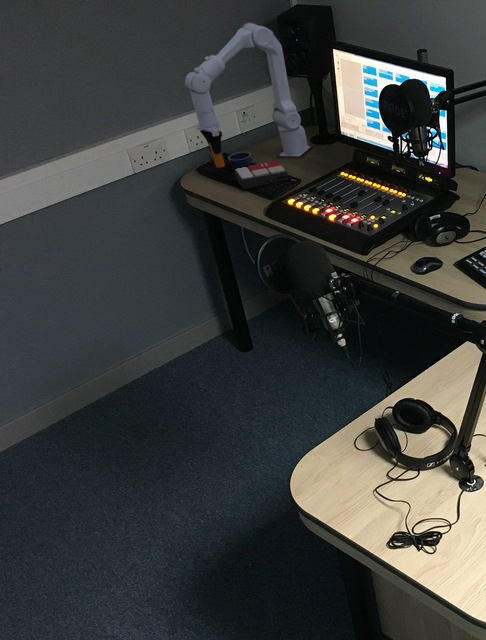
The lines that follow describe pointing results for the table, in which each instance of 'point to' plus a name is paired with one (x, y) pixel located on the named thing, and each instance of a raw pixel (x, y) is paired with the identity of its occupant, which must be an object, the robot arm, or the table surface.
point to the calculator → (259, 174)
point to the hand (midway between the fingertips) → (216, 151)
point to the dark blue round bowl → (240, 159)
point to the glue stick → (218, 159)
